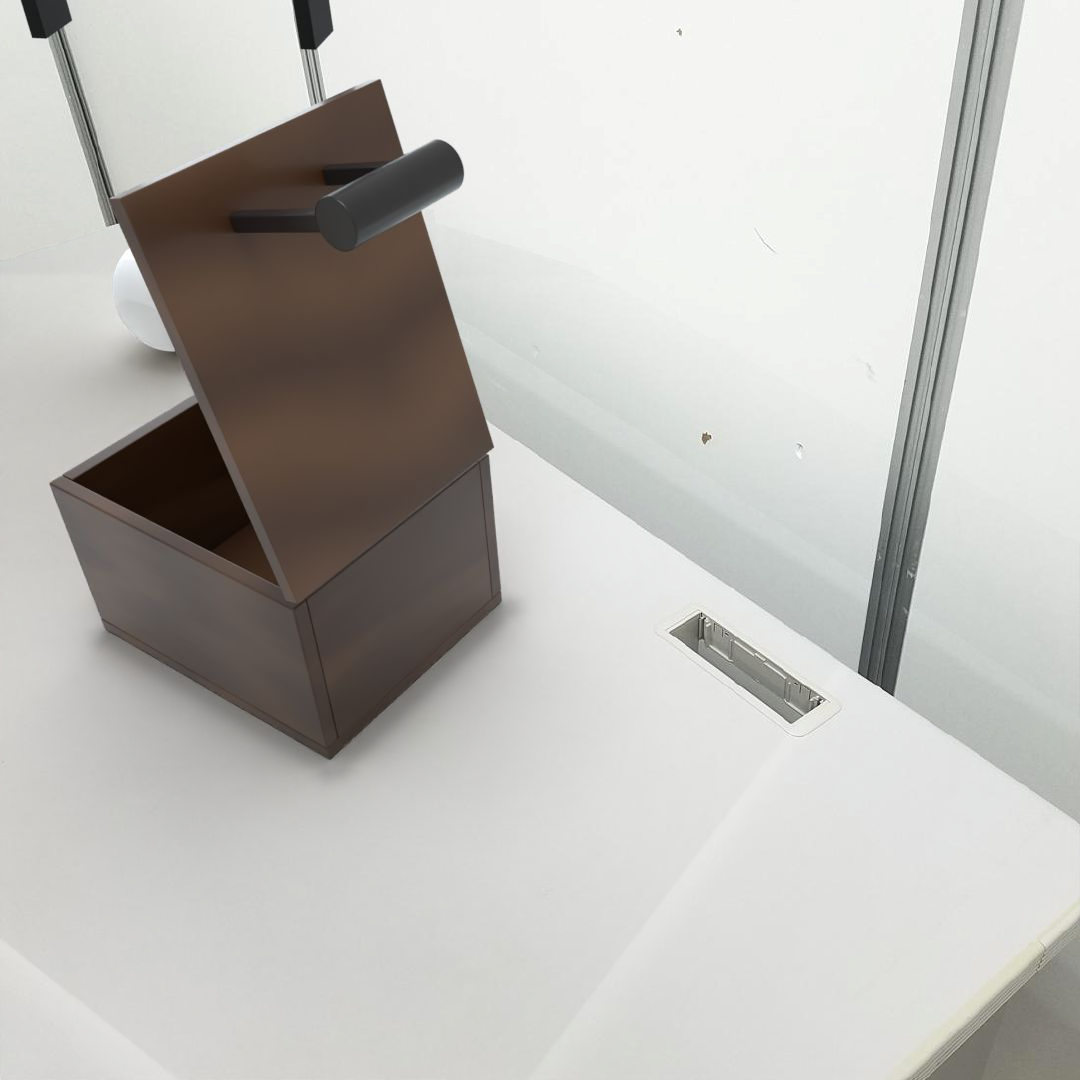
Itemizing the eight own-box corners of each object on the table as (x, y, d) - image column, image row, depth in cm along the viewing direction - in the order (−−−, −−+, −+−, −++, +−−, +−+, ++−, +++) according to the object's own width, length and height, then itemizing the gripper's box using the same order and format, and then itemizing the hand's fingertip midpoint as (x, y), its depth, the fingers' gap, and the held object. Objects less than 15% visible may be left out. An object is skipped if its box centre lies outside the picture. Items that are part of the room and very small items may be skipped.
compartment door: (107, 199, 44) (245, 193, 39) (367, 79, 52) (508, 64, 47) (285, 601, 53) (414, 634, 48) (482, 445, 61) (609, 462, 57)
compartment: (104, 628, 67) (47, 482, 60) (285, 499, 75) (252, 358, 69) (329, 760, 60) (293, 610, 53) (502, 600, 68) (489, 454, 61)
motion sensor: (234, 367, 86) (210, 265, 81) (123, 378, 86) (91, 276, 81) (242, 311, 92) (219, 212, 87) (137, 320, 92) (108, 221, 87)
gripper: (-320, -554, 45) (-96, 50, 59) (342, -571, 42) (411, 72, 56) (-192, -552, 51) (-15, 1, 65) (402, -567, 47) (451, 18, 62)
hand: (183, 35), depth 60 cm, fingers open, 13 cm apart
